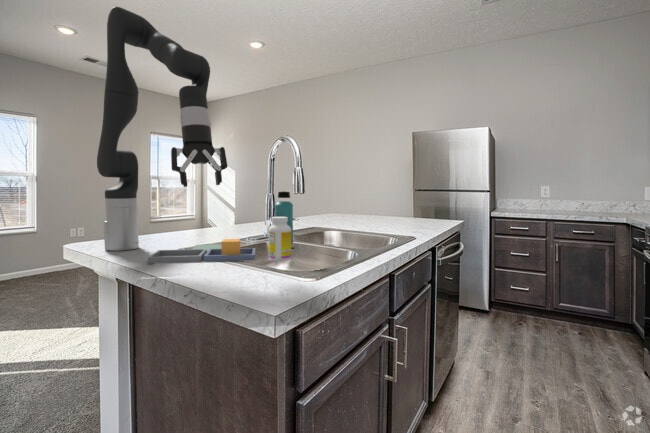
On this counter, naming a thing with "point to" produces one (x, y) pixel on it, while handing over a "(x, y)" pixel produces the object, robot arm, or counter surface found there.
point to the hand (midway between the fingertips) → (202, 185)
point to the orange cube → (230, 247)
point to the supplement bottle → (279, 239)
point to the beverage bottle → (285, 210)
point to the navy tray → (217, 255)
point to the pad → (208, 246)
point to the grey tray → (177, 256)
